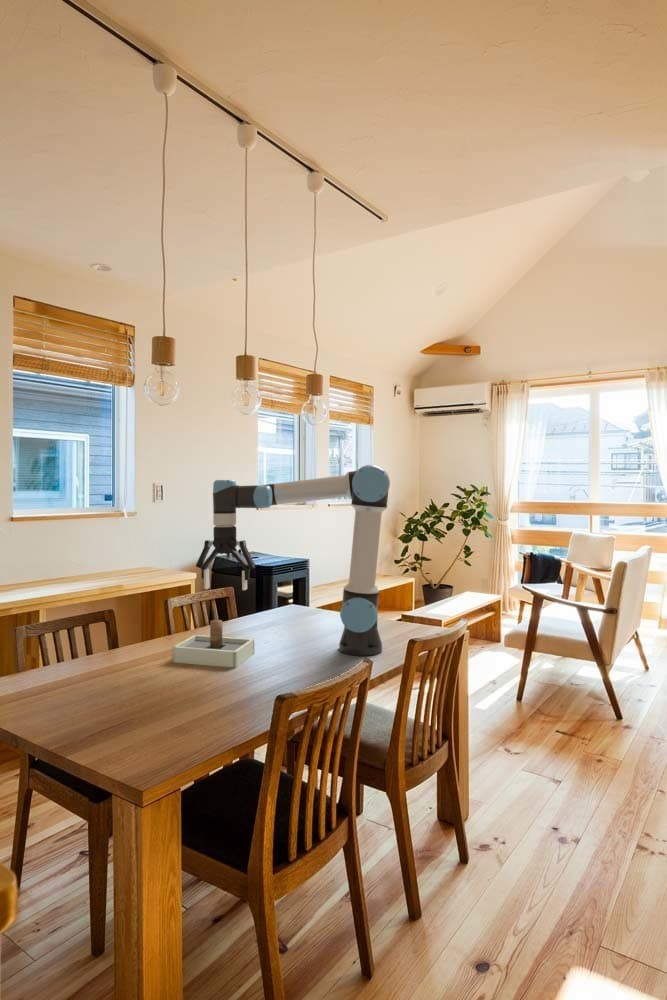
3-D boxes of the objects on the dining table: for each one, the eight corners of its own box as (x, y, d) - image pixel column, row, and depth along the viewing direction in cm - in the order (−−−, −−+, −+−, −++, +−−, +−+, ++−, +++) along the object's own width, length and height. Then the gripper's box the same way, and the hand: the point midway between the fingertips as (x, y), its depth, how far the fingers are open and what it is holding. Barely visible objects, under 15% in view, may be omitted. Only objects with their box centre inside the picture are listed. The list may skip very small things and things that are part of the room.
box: (254, 653, 207) (254, 639, 207) (235, 667, 191) (236, 652, 191) (195, 649, 212) (195, 634, 212) (172, 662, 197) (172, 647, 196)
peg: (219, 658, 201) (219, 622, 200) (208, 657, 202) (208, 622, 201) (224, 655, 205) (224, 620, 204) (213, 654, 206) (213, 619, 205)
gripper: (264, 525, 204) (264, 588, 204) (195, 524, 209) (196, 586, 210) (256, 527, 196) (257, 592, 197) (185, 526, 202) (186, 589, 203)
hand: (225, 589), depth 204 cm, fingers open, 13 cm apart
